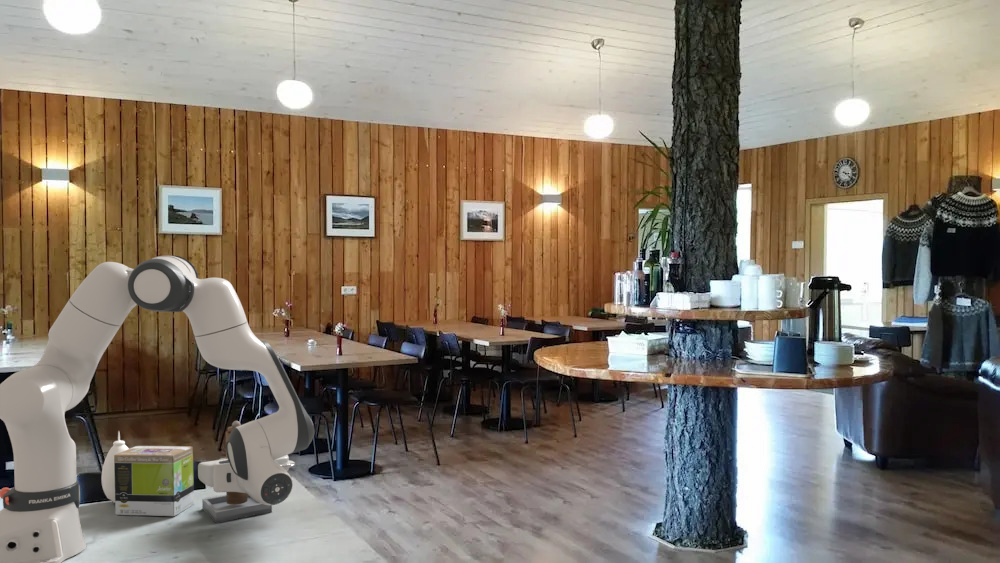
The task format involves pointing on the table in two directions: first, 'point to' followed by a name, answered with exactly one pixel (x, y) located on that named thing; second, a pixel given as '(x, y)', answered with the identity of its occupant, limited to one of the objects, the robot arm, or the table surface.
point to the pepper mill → (234, 497)
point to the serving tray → (232, 508)
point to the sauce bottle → (111, 468)
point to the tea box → (154, 480)
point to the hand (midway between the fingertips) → (235, 459)
